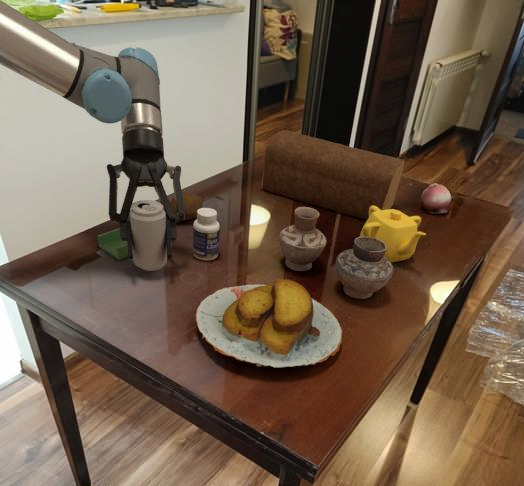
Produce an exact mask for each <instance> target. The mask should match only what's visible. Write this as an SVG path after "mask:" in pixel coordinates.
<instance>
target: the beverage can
mask: <svg viewBox="0 0 524 486" xmlns="http://www.w3.org/2000/svg"><path fill="white" fill-rule="evenodd" d="M129 221H130V225H131V237H132V249H133V264H134V265H135V266H136V267H137V268H140V269H141V270H144V271H148V272H150V271H151V272H152V271H153V272H154V271H159V270H161V269H162V268H163V267H165V266H166V264H167V262H168V257H167V242H166V221H167V216H166V213H165V211H164V209H163V205H162V204H161V202H160V201H156V200H152V199H141V200H137V201H135V202H134V201H133V203H132V205H131V210H130V213H129Z"/></svg>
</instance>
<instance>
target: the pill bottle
mask: <svg viewBox="0 0 524 486" xmlns="http://www.w3.org/2000/svg"><path fill="white" fill-rule="evenodd" d="M217 219H218V212H217V210H216V209H214V208H212V207H203V208H200V209H198V210H197V217H196V218H195V219H194V222H193V224H192V225H193V226H192V255H193V257H194V258H196V259H197V260H200V261H206V262H207V261H213V260H215V259H216V258H218V256H219V247H220V233H221V231H220V229H221V228H220V227H221V225H220V223H219V221H218V220H217Z"/></svg>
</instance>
